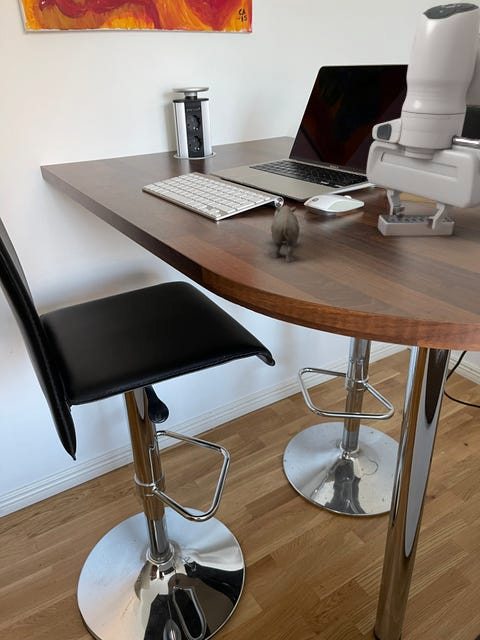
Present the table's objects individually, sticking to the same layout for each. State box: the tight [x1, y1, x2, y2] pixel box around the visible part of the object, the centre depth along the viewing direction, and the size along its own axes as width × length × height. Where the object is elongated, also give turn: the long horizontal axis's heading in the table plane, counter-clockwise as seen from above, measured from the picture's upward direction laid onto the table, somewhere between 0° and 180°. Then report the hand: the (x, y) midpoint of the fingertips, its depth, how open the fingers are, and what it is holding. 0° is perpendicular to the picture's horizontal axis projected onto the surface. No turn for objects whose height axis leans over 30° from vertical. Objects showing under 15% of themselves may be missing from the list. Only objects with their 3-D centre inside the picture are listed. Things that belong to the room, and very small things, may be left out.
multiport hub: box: [377, 214, 455, 237], centre depth 81 cm, size 4×11×2 cm, turn 91°
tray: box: [399, 192, 437, 204], centre depth 102 cm, size 14×11×2 cm
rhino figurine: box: [270, 204, 300, 263], centre depth 75 cm, size 4×14×6 cm, turn 175°
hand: (414, 222), depth 81 cm, fingers closed on multiport hub, 6 cm apart
